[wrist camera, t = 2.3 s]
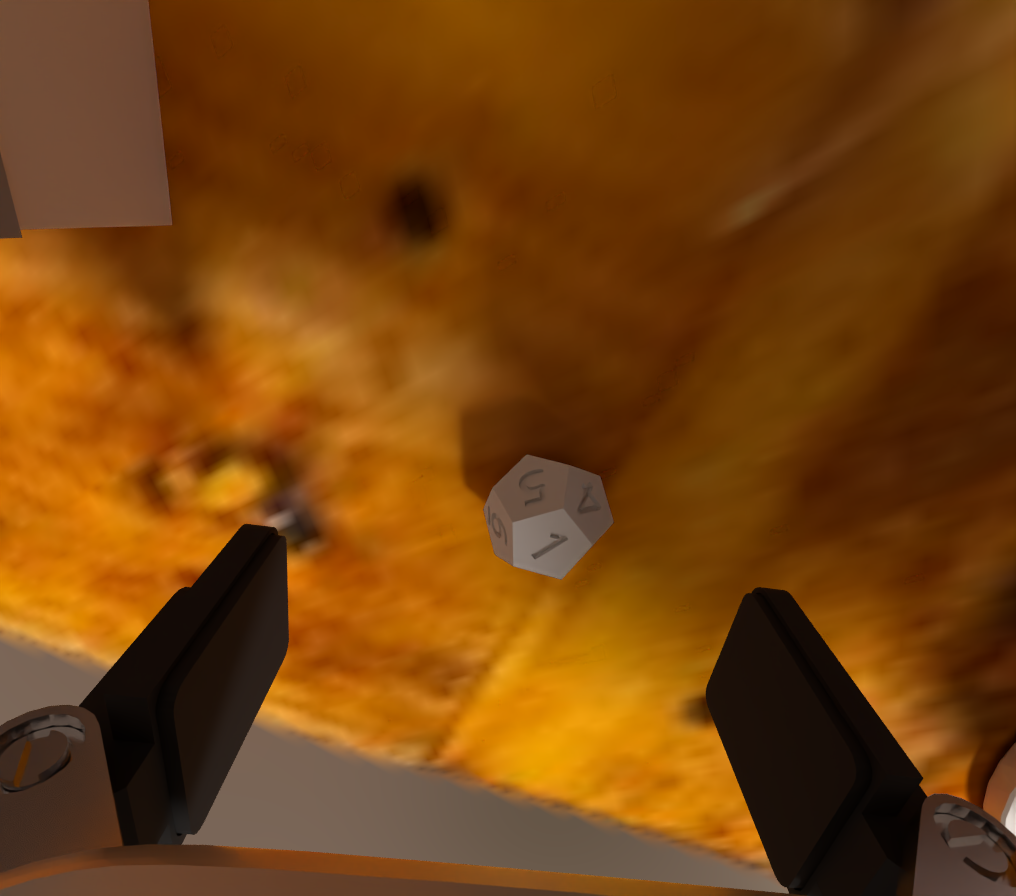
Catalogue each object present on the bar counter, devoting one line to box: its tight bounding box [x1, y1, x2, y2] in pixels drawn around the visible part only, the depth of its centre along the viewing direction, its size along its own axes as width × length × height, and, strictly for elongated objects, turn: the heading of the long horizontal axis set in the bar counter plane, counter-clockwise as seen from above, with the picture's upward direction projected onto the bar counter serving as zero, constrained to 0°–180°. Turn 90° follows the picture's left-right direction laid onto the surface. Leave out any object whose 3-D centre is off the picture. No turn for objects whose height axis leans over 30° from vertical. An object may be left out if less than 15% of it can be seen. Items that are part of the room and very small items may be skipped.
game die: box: [483, 454, 614, 579], centre depth 15 cm, size 4×4×3 cm
